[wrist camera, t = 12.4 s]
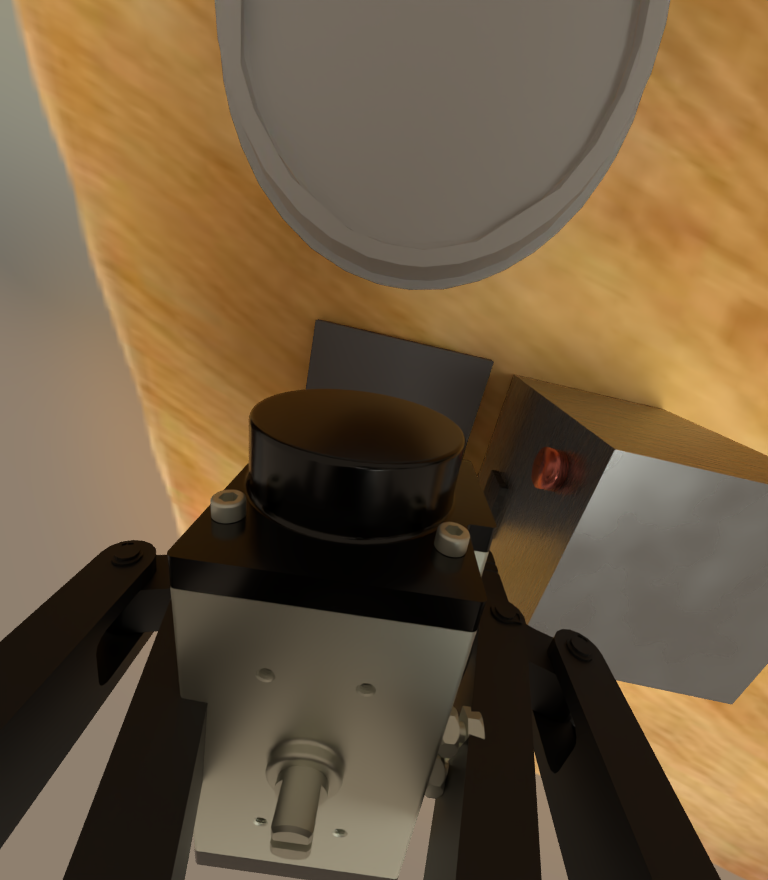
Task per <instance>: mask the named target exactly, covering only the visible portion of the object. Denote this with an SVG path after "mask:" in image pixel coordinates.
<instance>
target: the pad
mask: <svg viewBox="0 0 768 880" xmlns="http://www.w3.org/2000/svg"><path fill="white" fill-rule="evenodd" d="M493 363H494V361H492V360H490V359H485V358H481V357H477V356H472V355H468V354H464V353H460V352H455V351H451V350H447V349H443V348H438V347H434V346H430V345H426V344H421V343H417V342H413V341H409V340H404V339H400V338H396V337H392V336H387V335H383V334H379V333H375V332H370V331H366V330H362V329H357V328H353V327H349V326H345V325H340V324H336V323H332V322H328V321H323V320H319V319H318V320H316V322H315V329H314V336H313V343H312V350H311V357H310V364H309V371H308V378H307V384H306V389H344V390H356V391H364V392H371V393H377V394H383V395H388V396H392V397H396V398H400V399H404V400H407V401H411V402H414V403H417V404H420V405H423V406H425V407H428V408H430V409H432V410H435V411H437V412H439V413H441V414H442V415H444V416H446V417H447V418H449V419H450V420H452V421H453V422H454V423H455V424H456V425H458V427H459V428H460V429H461V430H462V432H463V434H464V436H465V440H466V445H467V442H468V439H469V436H470V433H471V430H472V427H473V424H474V421H475V417H476V414H477V411H478V408H479V405H480V402H481V399H482V396H483V393H484V390H485V387H486V384H487V381H488V378H489V375H490V372H491V369H492V366H493ZM466 445H465V448H466ZM464 451H465V450H464Z"/></svg>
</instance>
